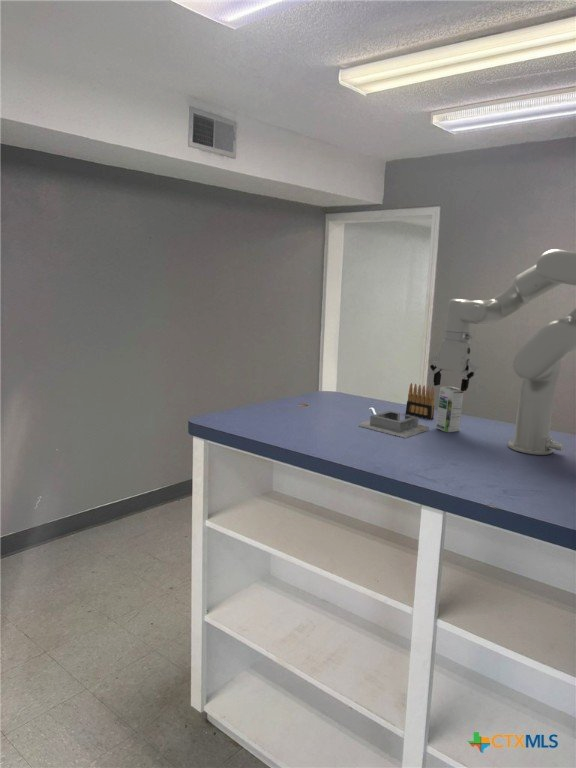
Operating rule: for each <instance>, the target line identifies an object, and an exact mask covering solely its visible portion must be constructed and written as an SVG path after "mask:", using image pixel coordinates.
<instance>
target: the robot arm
mask: <svg viewBox="0 0 576 768" xmlns="http://www.w3.org/2000/svg"><path fill="white" fill-rule="evenodd" d="M561 284H565V285H570V286H574V287H575V286H576V251H570V250H565V249H560V248H552V249H549V250H547V251H545V252H543V253H542V254H541V255H540V256H539V257H538V259H537V261H536V263H535V264H534V265H532V266H530V267H529V268H527V269H526V270H524V271H522V272H521V273H519V274H517V275H516V276H515V277H513V281H512V283H511V285H510V286H509V287H508V288H507V289H506V290H504V291H503V292H501V293H500V294H498V295H496V296H495V297H493V298H491V299H474V300H470V299H465V298H452V299H449V301H448V306H447V311H446V312H447V313H446V323H445V329H444V338H443V339H442V341H441V343H440V345H439V349H438V354H437V356H435V357H432V358H429V359H428V363H429V367H430V369H431V371H432V374H433V387H434V386H435V387H436V386H440V385H441V379H442V373H441V372H442V371H447V372H453V373H460V374H461V375H462V380H461V386H460V389H461V391H464V392H466V391H467V390H468V389H469V383H470V379H471V378H473V377H474V376H475V375H476V373H478V371H479V369H480V367H479V366H477V364H475V363H474V362H472V347H471V342H470V341H469V340H472V339H473V338H474V337H473V335H471V333H470V329H471V324H474V325H488V324H489V325H490V324H494V323H497V322H499V321H501V320H503V319H505V318H508V316H511V315H512V314H514V313H515V312H518V310H520V309H522V308H523V307H525V306H526V305H527V304H529V303H530V302H531V301H533V300H534V299H536V298H539V297H540V296H542V295H544V294H545V293H547V292H549V291H550V290H552V289H554V288H556V287H558V286H560V285H561ZM571 352H576V307H575V308H574V309H572V311H571V312H569V313H568V314H567V315H566V316H565V317H562V318H557V319H554V320H551V321H549V322H548V323H546V324H545V325H543V327H542V328H540V330H538V331H537V332H536V333H535V334H534V335H533V336H532V337H531V338H530V339H529V340H528V341H527V342H526V343H525V344H524V345H523V346H522V347H521V348H520V349H519V350H518V351H517V352H516V353H515V355H514V357H513V360H512V368H513V372H514V373H515V375H516V376H517V377H519V379H522V380H521V384H520V388H519V395H518V401H517V402H518V405H517V410H516V411H517V412H516V417H515V419H516V421H515V428H514V435H513V439H510V440H508V442H507V447H509V448H510V449H511V450H513V451H516V452H520V453H524V454H527V455H528V454H529V455H538V456H540V455H541V456H545V455H550V454H552V453H553V452H554V451H555V450H556V451H561V452H563V451H564V450H563V449H564V444H563V443H562V442H558V441H554V440H553V436H552V435H550V431H551V425H552V418H553V409H554V402H555V397H556V396H555V395H556V392H557V391H556V390H557V384H558V381H559V376H560V372H561V370H562V359H563V358H564V357H565V356H566V355H567V354H569V353H571ZM435 362H436V363H435ZM470 369H471V371H470ZM469 371H470V372H469Z"/></svg>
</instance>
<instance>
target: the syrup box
mask: <svg viewBox="0 0 576 768" xmlns="http://www.w3.org/2000/svg"><path fill="white" fill-rule="evenodd" d="M464 393H465V391H461V388H458V387H454V386H445V385H444V386H441V387H439V396H438V403H437V405H438V406H437V413H436V414H437V416H436V424H435V429H437V430H440V431H442V432H444V433H453V432H454V433H455V432H460V427H461V419H462V411H463V404H464V403H463V401H464V400H463V399H464Z"/></svg>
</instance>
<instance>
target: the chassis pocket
mask: <svg viewBox="0 0 576 768" xmlns="http://www.w3.org/2000/svg"><path fill="white" fill-rule="evenodd" d="M419 418H420V417H416V416H412V415H408V414H405V416H404V419H402V420H400V419H401V413H400V412H396V411H392V410H387V411H384V412H380V413H375V414H373V415H370V420H366V421H362V422H359V423H358V427H361V428H365V429H369V430H373V431H377V432H380V433H385V434H387V433H388V434H389V435H392V436H395V435H396V437H399V436H400V437H399V438H403V439H406V438H410V437H412V436H415V435H419V434H421V433H424V432H427V431H429V430H430V427H429V426H426V425H421V424H419Z"/></svg>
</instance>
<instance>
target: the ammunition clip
mask: <svg viewBox="0 0 576 768" xmlns="http://www.w3.org/2000/svg"><path fill="white" fill-rule="evenodd" d="M434 389H435V388H434V386H432V387H431V389H430V385H428V386H427V388H426V386H425V384H424V385H423V386H421V384H419V385H418V386H417V383H415V384H414V386H413V382H411V383H410V385H409V390H408V395H407V401H406V408H405V415H408V414H409V415H411V416H412V415H415V417H416V416H418V417H419V418H421V417H423V418H422V419H425V418H427V419H426V420H430V419H431V420H433V419H434V413H435V412H434V411H435V404H434V403H435V402H434V401H435V398H434V397H435V390H434Z"/></svg>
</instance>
